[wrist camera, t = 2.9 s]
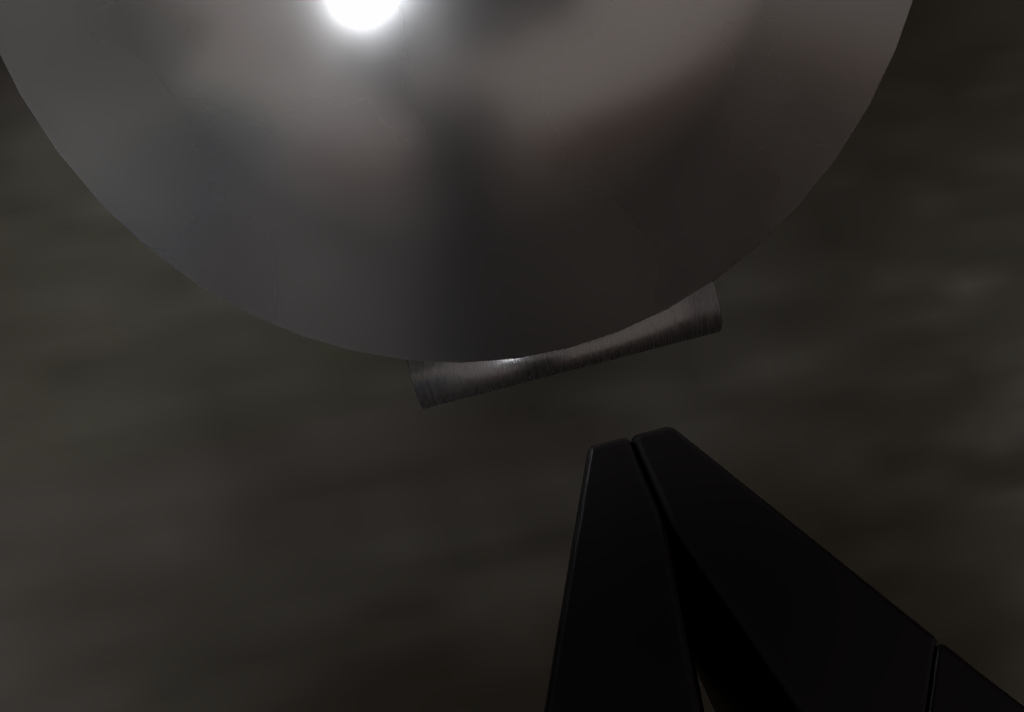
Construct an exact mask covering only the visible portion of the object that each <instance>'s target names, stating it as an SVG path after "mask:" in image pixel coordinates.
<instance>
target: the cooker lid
mask: <svg viewBox="0 0 1024 712" xmlns="http://www.w3.org/2000/svg"><path fill="white" fill-rule="evenodd" d="M912 1H913V0H0V55H1V57H2V59H3V61H4V63H5V65H6V67H7V69H8V71H9V73H10V75H11V77H12V79H13V81H14V83H15V85H16V87H17V89H18V91H19V93H20V95H21V97H22V98H23V100H24V101H25V103H26V104H27V106H28V107H29V109H30V110H31V112H32V113H33V115H34V116H35V118H36V119H37V121H38V122H39V124H40V125H41V127H42V129H43V130H44V132H45V133H46V135H47V136H48V138H49V139H50V141H51V142H52V144H53V145H54V147H55V148H56V150H57V151H58V153H59V154H60V155H61V156H62V157H63V159H64V160H65V161H66V162H67V163H68V165H69V166H70V167H71V168H72V169H73V171H74V172H75V173H76V174H77V175H78V177H79V178H80V179H81V180H82V181H83V183H84V184H85V185H86V186H87V187H88V189H89V190H90V191H91V192H92V193H93V195H94V196H95V197H96V198H97V199H98V201H99V202H100V203H101V204H102V205H103V206H104V207H105V208H107V209H108V210H109V211H110V212H111V213H112V214H113V215H114V216H115V217H116V218H117V219H118V220H119V221H120V222H121V223H122V224H123V225H124V226H126V227H127V228H128V229H129V230H130V231H131V232H132V233H133V234H134V235H135V236H136V237H137V238H138V239H139V240H140V241H141V242H142V243H143V244H145V245H146V246H147V247H148V248H150V249H151V250H152V251H154V252H155V253H156V254H158V255H159V256H160V257H162V258H163V259H164V260H166V261H167V262H168V263H170V264H171V265H172V266H174V267H175V268H176V269H178V270H179V271H180V272H182V273H183V274H184V275H186V276H187V277H188V278H190V279H191V280H192V281H194V282H195V283H197V284H198V285H200V286H202V287H204V288H205V289H207V290H209V291H210V292H212V293H214V294H216V295H217V296H219V297H221V298H223V299H224V300H226V301H228V302H229V303H231V304H233V305H235V306H236V307H238V308H240V309H241V310H243V311H245V312H247V313H249V314H251V315H254V316H256V317H258V318H261V319H263V320H265V321H268V322H270V323H272V324H275V325H277V326H279V327H282V328H284V329H286V330H289V331H291V332H293V333H295V334H298V335H301V336H304V337H307V338H311V339H314V340H318V341H321V342H324V343H328V344H331V345H334V346H338V347H341V348H344V349H348V350H351V351H356V352H362V353H368V354H374V355H380V356H385V357H391V358H397V359H403V360H407V361H408V365H409V369H410V373H411V377H412V381H413V384H414V387H415V391H416V394H417V397H418V399H419V402H420V404H421V406H422V408H423V409H425V408H429V407H433V406H436V405H440V404H444V403H448V402H452V401H456V400H459V399H463V398H467V397H471V396H475V395H479V394H483V393H486V392H490V391H494V390H498V389H502V388H506V387H509V386H513V385H517V384H521V383H525V382H529V381H533V380H536V379H540V378H544V377H548V376H552V375H556V374H559V373H563V372H567V371H571V370H575V369H579V368H582V367H586V366H590V365H594V364H598V363H602V362H606V361H609V360H613V359H617V358H621V357H625V356H629V355H632V354H636V353H640V352H644V351H648V350H652V349H656V348H659V347H663V346H667V345H671V344H675V343H679V342H682V341H686V340H690V339H694V338H698V337H702V336H706V335H709V334H713V333H717V332H720V330H721V325H722V321H721V311H720V305H719V300H718V296H717V292H716V289H715V285H714V282H713V281H714V280H715V279H717V278H718V277H719V276H720V275H722V274H723V273H724V272H725V271H727V270H728V269H729V268H730V267H732V266H733V265H734V264H736V263H737V262H738V261H739V260H741V259H742V258H743V257H744V256H746V255H747V254H748V253H749V252H751V251H752V250H753V249H754V248H756V247H757V246H758V245H759V244H760V243H761V242H762V241H763V240H764V239H765V238H766V237H767V236H768V235H769V234H770V233H771V232H772V231H773V230H774V229H775V228H776V227H777V226H778V225H779V224H780V223H781V222H782V221H783V220H784V219H785V218H786V217H787V216H788V215H789V214H790V213H791V212H792V211H793V210H794V209H795V208H796V207H797V206H798V205H799V204H800V203H801V202H802V201H803V199H804V198H805V197H806V195H807V194H808V193H809V192H810V190H811V189H812V188H813V187H814V185H815V184H816V183H817V182H818V180H819V179H820V178H821V177H822V175H823V174H824V173H825V172H826V170H827V169H828V168H829V167H830V165H831V164H832V163H833V161H834V160H835V159H836V158H837V156H838V154H839V153H840V151H841V150H842V148H843V146H844V145H845V143H846V142H847V140H848V138H849V137H850V135H851V134H852V132H853V130H854V129H855V127H856V126H857V124H858V122H859V121H860V119H861V118H862V116H863V114H864V113H865V111H866V110H867V108H868V106H869V104H870V102H871V100H872V98H873V96H874V94H875V92H876V89H877V87H878V85H879V83H880V81H881V79H882V77H883V75H884V73H885V71H886V69H887V67H888V64H889V62H890V60H891V58H892V56H893V54H894V52H895V50H896V47H897V44H898V41H899V38H900V35H901V33H902V30H903V27H904V24H905V21H906V18H907V15H908V12H909V10H910V7H911V4H912Z"/></svg>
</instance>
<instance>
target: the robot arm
mask: <svg viewBox="0 0 1024 712" xmlns="http://www.w3.org/2000/svg"><path fill="white" fill-rule="evenodd" d="M936 646H937V640H936V638H935V637H934V636H933V635H931V634H930V633H929V632H928V631H926V630H925V629H924V628H923V627H921V626H920V625H919V624H918V623H916V622H915V621H914V620H913V619H911V618H910V617H909V616H908V615H906V614H905V613H904V612H903V611H901V610H900V609H899V608H898V607H896V606H895V605H894V604H893V603H891V602H890V601H889V600H888V599H886V598H885V597H884V596H883V595H881V594H880V593H879V592H878V591H876V590H875V589H874V588H873V587H871V586H870V585H869V584H868V583H866V582H865V581H864V580H863V579H861V578H860V577H859V576H858V575H856V574H855V573H854V572H853V571H851V570H850V569H849V568H848V567H846V566H845V565H844V564H843V563H841V562H840V561H839V560H838V559H836V558H835V557H834V556H833V555H831V554H830V553H829V552H828V551H826V550H825V549H824V548H823V547H821V546H820V545H819V544H818V543H816V542H815V541H814V540H813V539H811V538H810V537H809V536H808V535H806V534H805V533H804V532H803V531H801V530H800V529H799V528H798V527H796V526H795V525H794V524H793V523H791V522H790V521H789V520H788V519H786V518H785V517H784V516H783V515H781V514H780V513H779V512H778V511H776V510H775V509H774V508H773V507H771V506H770V505H769V504H768V503H766V502H765V501H764V500H763V499H761V498H760V497H759V496H758V495H756V494H755V493H754V492H753V491H751V490H750V489H749V488H748V487H746V486H745V485H744V484H743V483H741V482H740V481H739V480H738V479H736V478H735V477H734V476H733V475H731V474H730V473H729V472H728V471H727V470H725V469H724V468H723V467H722V466H720V465H719V464H718V463H717V462H715V461H714V460H713V459H712V458H710V457H709V456H708V455H707V454H705V453H704V452H703V451H702V450H700V449H699V448H698V447H697V446H695V445H694V444H693V443H692V442H690V441H689V440H688V439H687V438H685V437H684V436H683V435H682V434H680V433H679V432H678V431H676V430H675V429H673V428H670V427H664V428H660V429H656V430H653V431H649V432H645V433H641V434H637V435H635V436H634V437H633V438H632V441H631V442H630V441H629V440H628V439H625V438H622V439H618V440H614V441H610V442H606V443H602V444H599V445H595V446H592V447H591V448H590V449H589V451H588V453H587V458H586V464H585V470H584V476H583V482H582V488H581V494H580V500H579V506H578V512H577V518H576V524H575V530H574V536H573V542H572V548H571V554H570V560H569V566H568V572H567V578H566V584H565V590H564V596H563V602H562V608H561V614H560V620H559V626H558V632H557V638H556V644H555V650H554V656H553V662H552V668H551V674H550V680H549V686H548V692H547V698H546V704H545V710H544V712H704V708H703V703H702V698H701V693H700V688H699V683H698V677H697V673H698V675H699V677H700V680H701V682H702V684H703V686H704V688H705V691H706V693H707V695H708V697H709V699H710V701H711V704H712V706H713V708H714V710H715V712H1024V706H1023V705H1021V704H1020V703H1019V702H1017V701H1016V700H1015V699H1013V698H1012V697H1011V696H1009V695H1008V694H1007V693H1005V692H1004V691H1003V690H1002V689H1000V688H999V687H998V686H996V685H995V684H994V683H992V682H991V681H990V680H988V679H987V678H986V677H984V676H983V675H982V674H980V673H979V672H978V671H977V670H975V669H974V668H973V667H972V666H971V665H969V664H968V663H967V662H966V661H964V660H963V659H962V658H961V657H959V656H958V655H957V654H956V653H954V652H953V651H952V650H951V649H949V648H948V647H947V646H946V645H944V644H940V645H938V646H937V648H936ZM696 670H697V672H696Z"/></svg>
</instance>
